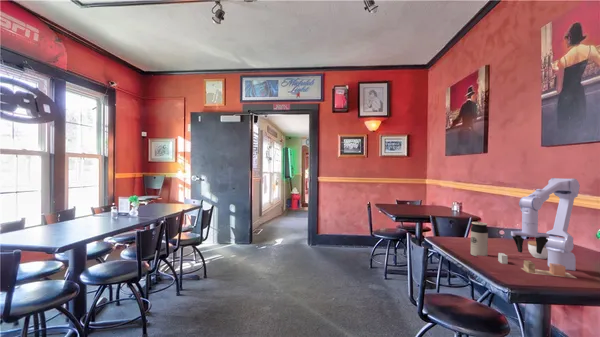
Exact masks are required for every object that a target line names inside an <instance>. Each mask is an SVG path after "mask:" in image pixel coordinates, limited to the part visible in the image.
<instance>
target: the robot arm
mask: <svg viewBox="0 0 600 337" xmlns="http://www.w3.org/2000/svg"><path fill="white" fill-rule="evenodd" d="M547 182H548V184H547V185H545V186H544V187H543V188H536V189H535V191H533V192H532V193H530V194H529V195H527V196H522V197H521V198H520V199H519V202H518V205H519V207H520V212H521V230H520V231H519V230H518V231H517V230H516V231H515V230H513V231H512V230H511V231H510V236H512V239H513V241H514V243H515V246H516V248H517V252H518V253H523V244H524V240H525V239H524V238H523V237H527V238H528V237H529V238H534V239H535V241H536V245H537V246H536V251H537V253H539V254H541V253H542V250H543V247H544V246H545V247H546V249H548V258H547V267H549V268H550V263H555V264H561V265H563V266H565V267H566V270H565V271H576V267H577V266H576V264H577V263H576V262H577V261H576V255H575V254H574V253H573V252H572V251H573V249H574V246H575V245H574V237H573V236H572V235H571V234H570V233H569V232H568V229H569V224H570V220H571V216H572V211H573V206H574V201H575V198H577V197H578V196H579V192H580V182H579V180H577V179H576V178H558V177H552V178H550V179H549V180H548V181H547ZM552 194H554V195H555V196H556V197H558V199H559V200H558V206H557V208H556V209H557V210H556V213H555V214H556V215H555V219H554V223H553V227H552V229H550V230H548V231H546V232H539V210H540V209H541V208H542V206H543V204H544V202H546V201H549V199H550V197H551V196H550V195H552Z"/></svg>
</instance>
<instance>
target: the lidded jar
mask: <svg viewBox="0 0 600 337" xmlns="http://www.w3.org/2000/svg"><path fill="white" fill-rule="evenodd" d="M536 246H537V245H536V240H529V241H527V248H528V252H529V253H530V255H531V256H532V257H534V258H535V259H541V260H548V249H546V247H545V246H544V247H543V250H542V253H541V254H539V253H537V251H536Z"/></svg>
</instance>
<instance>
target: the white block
mask: <svg viewBox="0 0 600 337" xmlns="http://www.w3.org/2000/svg"><path fill="white" fill-rule="evenodd" d="M508 256H509V255H507V254H505V253H504V252H498V254H497V259H498V260H497V261H498V262H499V263H500V264H503V265H508V264H509V263H508V262H509V261H508V259H509V258H508Z"/></svg>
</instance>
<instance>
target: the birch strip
mask: <svg viewBox="0 0 600 337" xmlns="http://www.w3.org/2000/svg"><path fill="white" fill-rule="evenodd" d="M520 269H521V270H523V271H524V272H525V273H527V274H534V275H543V276H553V277H562V278H563V277H564V278H571V279H577V277H576V276H575V275H573V274H571V273H569V272H565V276H561V275H554V274H552V273H551V272H549V270H544V269H536V264H535V263H534V262H533V261H531V260H525V259H524V260H523V267H520Z"/></svg>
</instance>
